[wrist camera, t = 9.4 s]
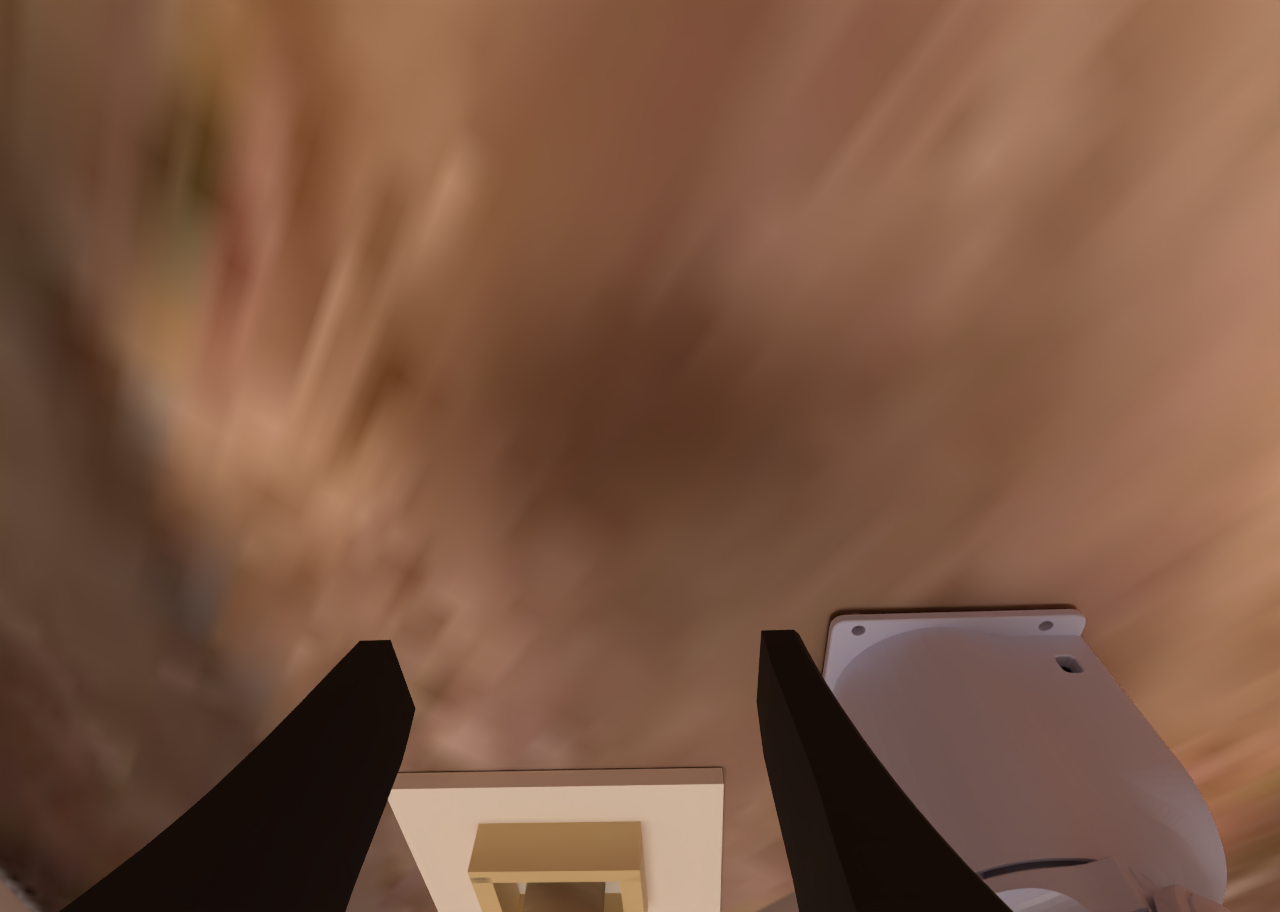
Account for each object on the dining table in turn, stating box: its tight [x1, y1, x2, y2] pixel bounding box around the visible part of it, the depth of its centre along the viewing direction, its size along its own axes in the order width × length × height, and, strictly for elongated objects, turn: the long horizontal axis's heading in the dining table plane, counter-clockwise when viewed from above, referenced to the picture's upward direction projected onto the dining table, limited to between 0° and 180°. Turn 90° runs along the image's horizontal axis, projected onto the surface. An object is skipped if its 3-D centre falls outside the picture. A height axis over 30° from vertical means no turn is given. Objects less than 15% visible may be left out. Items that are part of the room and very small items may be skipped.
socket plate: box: [388, 768, 724, 912], centre depth 32 cm, size 16×14×3 cm
